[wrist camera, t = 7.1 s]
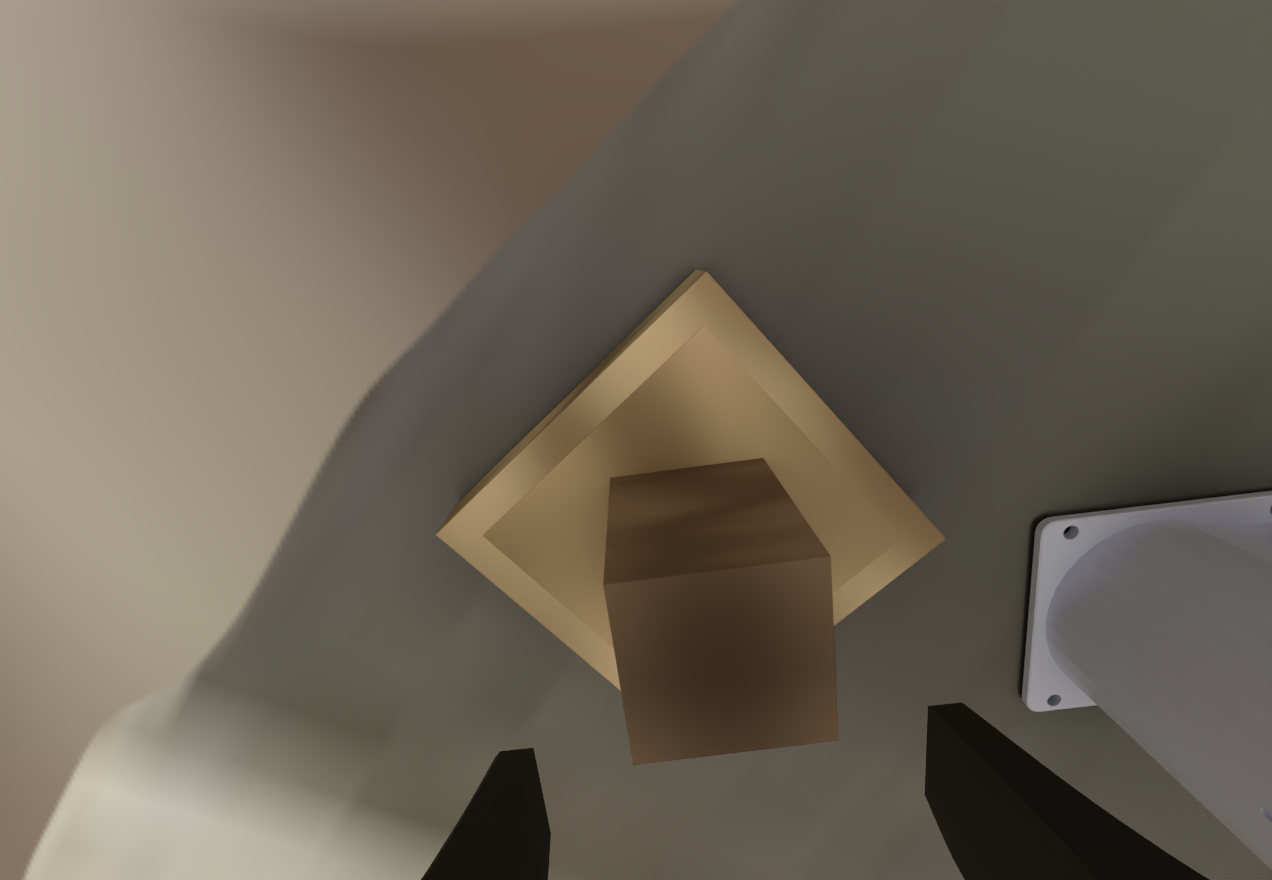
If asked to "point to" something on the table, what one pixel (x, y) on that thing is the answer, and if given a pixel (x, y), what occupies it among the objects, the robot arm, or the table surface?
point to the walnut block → (718, 613)
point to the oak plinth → (677, 467)
